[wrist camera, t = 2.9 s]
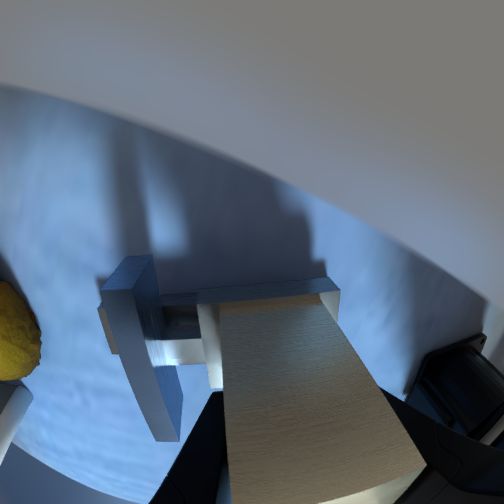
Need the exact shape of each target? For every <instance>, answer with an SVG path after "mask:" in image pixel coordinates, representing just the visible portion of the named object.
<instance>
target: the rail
mask: <svg viewBox="0 0 504 504" xmlns="http://www.w3.org/2000/svg"><path fill="white" fill-rule="evenodd" d="M159 296H160V301H161V306H162V311H163V316H164V321H165V325H166V326H170V325H189V324H199V317H198V311H197V297H198V293H189V294H174V295H159ZM97 310H98V313H99V316H100V320H101V323H102V326H103V329H104V332H105V335H106V338H107V341H108V344H109V347H110V350H111V353H112V354H119V353H118V350H117V347H116V344H115V341H114V338H113V335H112V332H111V329H110V326H109V323H108V319H107V316H106V312H105V309H104V305H103V302H102V303H101V304H100V306H99V307H98V308H97Z"/></svg>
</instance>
